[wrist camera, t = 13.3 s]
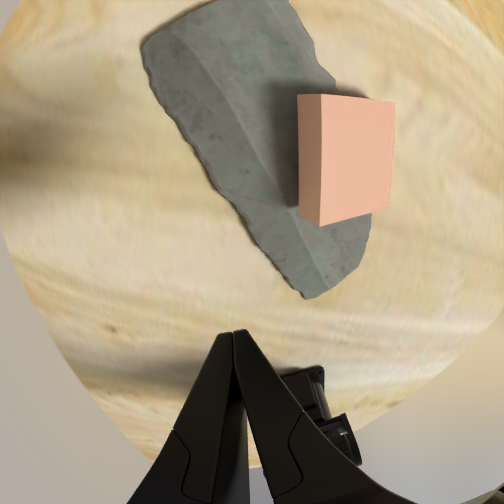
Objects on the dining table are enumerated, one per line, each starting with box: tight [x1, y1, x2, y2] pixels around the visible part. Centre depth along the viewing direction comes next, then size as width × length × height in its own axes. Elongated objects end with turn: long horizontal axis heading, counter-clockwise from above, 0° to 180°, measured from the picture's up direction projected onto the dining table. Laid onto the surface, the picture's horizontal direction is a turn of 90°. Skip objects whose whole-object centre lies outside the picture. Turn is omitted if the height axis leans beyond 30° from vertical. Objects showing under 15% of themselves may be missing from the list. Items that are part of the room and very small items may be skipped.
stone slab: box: [142, 0, 372, 300], centre depth 17 cm, size 22×3×10 cm
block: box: [297, 94, 395, 227], centre depth 15 cm, size 2×7×6 cm
